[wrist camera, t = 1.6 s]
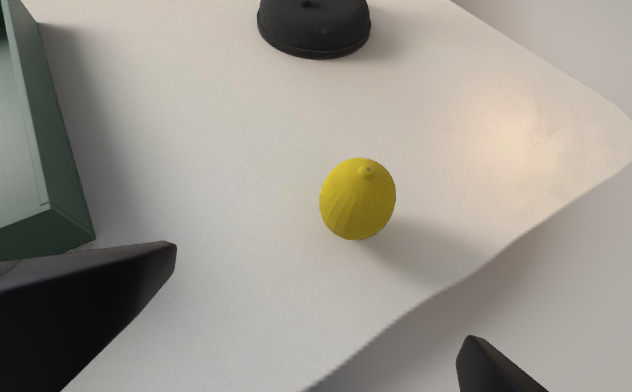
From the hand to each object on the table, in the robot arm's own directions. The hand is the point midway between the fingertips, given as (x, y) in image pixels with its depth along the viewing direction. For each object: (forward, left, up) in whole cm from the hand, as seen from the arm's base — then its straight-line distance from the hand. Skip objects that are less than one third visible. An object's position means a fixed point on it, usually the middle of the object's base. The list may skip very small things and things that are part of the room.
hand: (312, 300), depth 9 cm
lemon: (+9, -5, -14) cm, 17 cm away
